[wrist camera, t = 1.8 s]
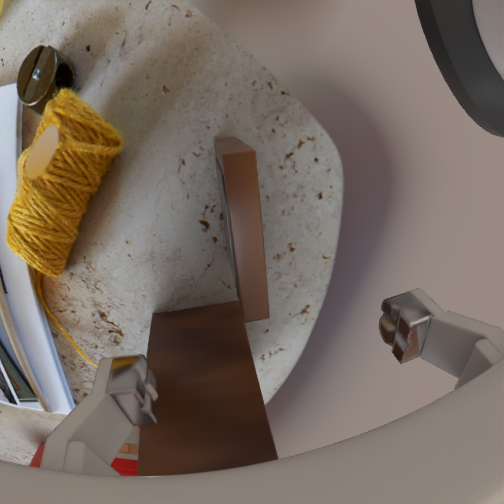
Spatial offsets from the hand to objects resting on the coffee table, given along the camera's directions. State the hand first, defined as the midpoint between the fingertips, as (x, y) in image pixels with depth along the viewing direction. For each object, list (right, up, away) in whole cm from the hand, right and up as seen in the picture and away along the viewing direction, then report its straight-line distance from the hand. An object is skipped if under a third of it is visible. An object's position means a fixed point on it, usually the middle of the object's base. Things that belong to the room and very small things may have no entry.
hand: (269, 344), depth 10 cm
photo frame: (-2, +7, +14) cm, 15 cm away
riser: (-5, -6, +19) cm, 21 cm away
